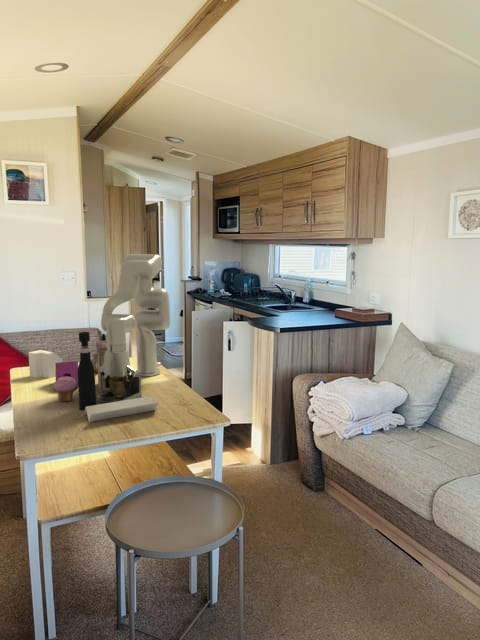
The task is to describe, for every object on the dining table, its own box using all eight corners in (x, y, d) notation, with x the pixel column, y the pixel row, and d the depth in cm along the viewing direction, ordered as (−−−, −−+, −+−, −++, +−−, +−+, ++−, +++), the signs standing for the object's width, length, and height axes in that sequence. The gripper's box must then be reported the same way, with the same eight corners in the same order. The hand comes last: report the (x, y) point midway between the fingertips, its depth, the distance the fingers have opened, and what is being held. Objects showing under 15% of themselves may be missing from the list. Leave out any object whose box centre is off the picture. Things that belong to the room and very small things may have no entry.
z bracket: (86, 429, 178) (83, 414, 181) (151, 417, 190) (147, 403, 193) (91, 414, 169) (87, 398, 172) (158, 402, 182) (154, 388, 185)
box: (98, 384, 221) (96, 341, 218) (118, 382, 224) (116, 339, 221) (101, 394, 206) (99, 348, 203) (123, 392, 209) (121, 346, 206)
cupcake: (52, 404, 193) (51, 379, 192) (57, 397, 202) (56, 374, 200) (75, 403, 194) (74, 378, 193) (79, 396, 203) (78, 373, 201)
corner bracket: (30, 376, 235) (28, 352, 233) (50, 371, 244) (49, 348, 242) (43, 379, 229) (41, 355, 227) (63, 374, 238) (62, 350, 236)
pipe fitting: (111, 371, 242) (108, 351, 241) (95, 374, 238) (92, 354, 237) (104, 368, 252) (101, 349, 251) (89, 372, 248) (86, 352, 247)
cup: (131, 397, 198) (130, 378, 197) (116, 401, 193) (115, 382, 192) (121, 393, 203) (120, 375, 202) (106, 397, 198) (104, 378, 197)
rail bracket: (115, 393, 206) (114, 373, 205) (141, 397, 202) (140, 376, 200) (95, 402, 194) (94, 381, 193) (122, 406, 190) (121, 384, 188)
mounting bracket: (80, 402, 215) (78, 375, 229) (79, 387, 210) (77, 361, 224) (56, 404, 211) (56, 377, 226) (55, 389, 207) (55, 362, 221)
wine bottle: (80, 412, 184) (76, 334, 179) (78, 407, 189) (73, 332, 185) (98, 409, 187) (94, 333, 182) (94, 404, 192) (91, 330, 188)
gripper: (93, 348, 194) (95, 389, 197) (129, 351, 188) (130, 393, 191) (104, 344, 201) (106, 384, 204) (140, 347, 195) (141, 388, 198)
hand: (118, 388), depth 197 cm, fingers open, 9 cm apart
